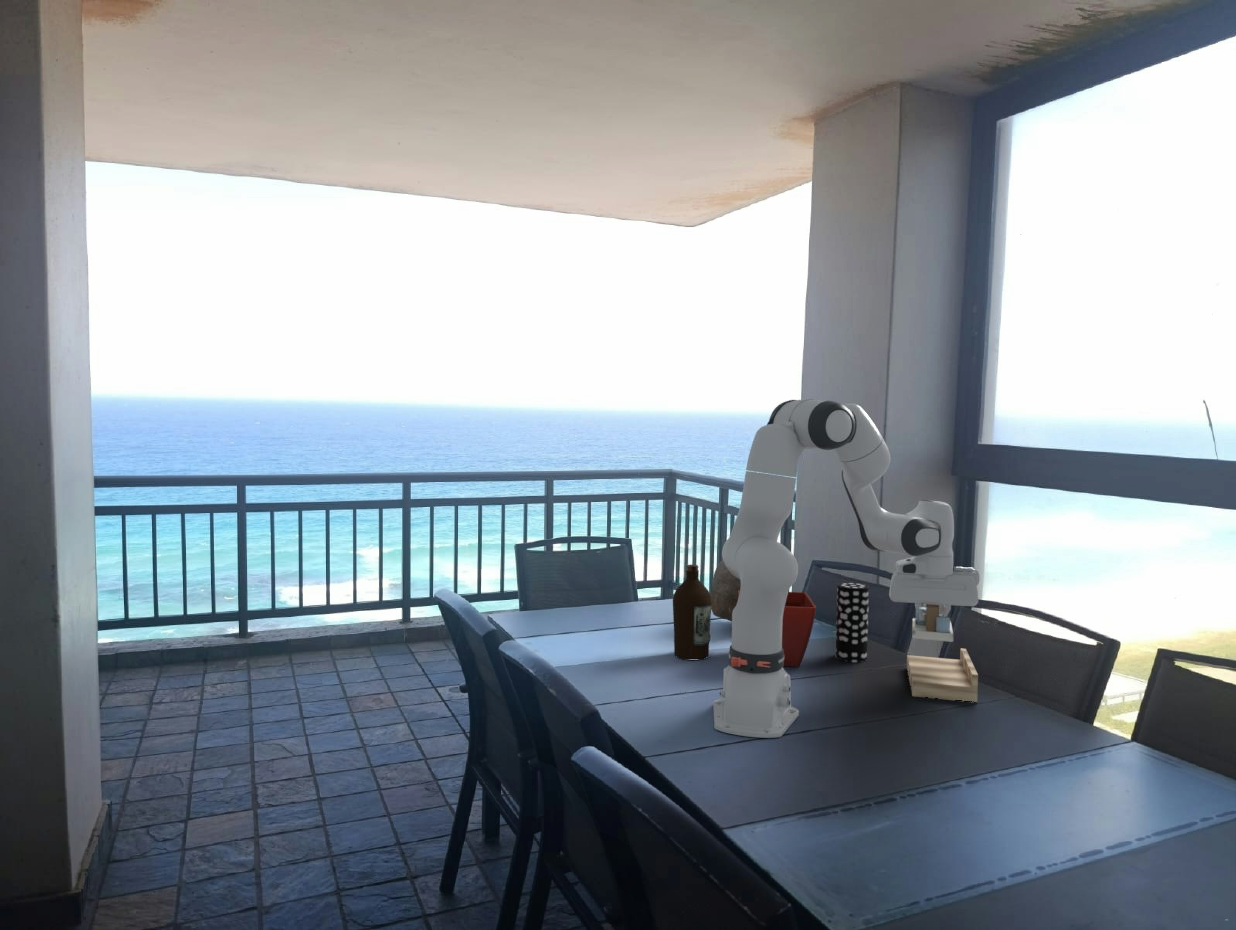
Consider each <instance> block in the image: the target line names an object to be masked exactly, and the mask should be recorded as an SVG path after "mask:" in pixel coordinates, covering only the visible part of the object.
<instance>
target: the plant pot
mask: <svg viewBox="0 0 1236 930" xmlns="http://www.w3.org/2000/svg"><path fill="white" fill-rule="evenodd" d="M739 593H740V590H739V591H738V597H739ZM816 610H817V606H816V605H815V603H814V602H813V600H812V599H811V597H810V596H809V594H808V593H807V592H803V591H801V592H799V591H798V592H797V591H789V592H788V595H787V599H786V603H785V607H784V613H783V626H782V648H783V649H784V666H783V667H800V666H801V664H802V662H803V660H804V657H805V654H806V652H807V648H808V645H809V642H810V639H811V634H812V630H813V626H814V622H815V617H816V612H817V611H816Z"/></svg>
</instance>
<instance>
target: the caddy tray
mask: <svg viewBox="0 0 1236 930" xmlns="http://www.w3.org/2000/svg"><path fill="white" fill-rule="evenodd" d="M919 608H920V607H919ZM920 610H921V611H922V613H926V621H920V619H919V612H918V610H917V609H916V608H915V617H912V625H911V626H912V627H911V628H912V639H918V640H927V641H928V640H929V641H939V642H949V643H950V642H951V643H953V642H954V631H953V626H952V625H953V624H952V621H951V618H950V617H947V616H946V617H941V616H940V617H939V614H940V604H926V606H925V607H924V606H922V607H921V608H920Z"/></svg>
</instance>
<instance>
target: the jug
mask: <svg viewBox="0 0 1236 930" xmlns="http://www.w3.org/2000/svg"><path fill="white" fill-rule="evenodd" d="M712 576H713V577H712V581H711V587H710V596H711V600H712V606H711V613H712V614H713V616H715V617H717V618H720V619H721V620H722V619H723V620H726V621H729V622H731V623H732V612H733V609H734V608H735V607H736V604H737V601H738V591H739V590H740V588H741V581H740V579H738V578H737V577H735V576H733V575H732V574H731V573H730V572H729V570H728V569H727V567H726V565H725V564H724V561H723V558H722V557H721V561H720V562H719V563H718V565H717V567H716V569H715V571H714V573H713V575H712Z"/></svg>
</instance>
